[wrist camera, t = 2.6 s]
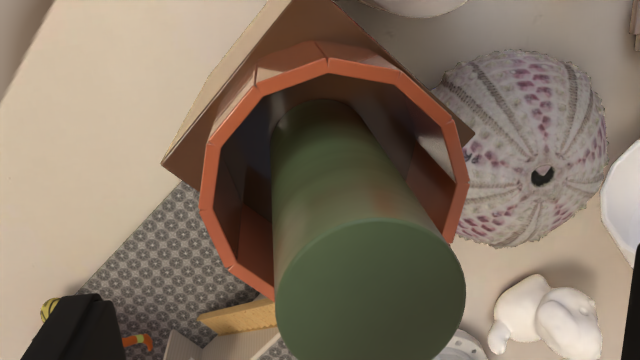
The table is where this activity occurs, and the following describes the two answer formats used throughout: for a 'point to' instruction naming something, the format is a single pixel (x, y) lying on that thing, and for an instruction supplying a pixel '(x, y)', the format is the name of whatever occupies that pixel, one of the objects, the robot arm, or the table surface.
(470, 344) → the mechanical component
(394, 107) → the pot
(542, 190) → the sea urchin shell
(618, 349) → the table surface
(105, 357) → the robot arm
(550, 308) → the figurine
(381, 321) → the green cylinder
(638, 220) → the cup
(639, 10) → the decorative ornament
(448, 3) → the pill bottle
